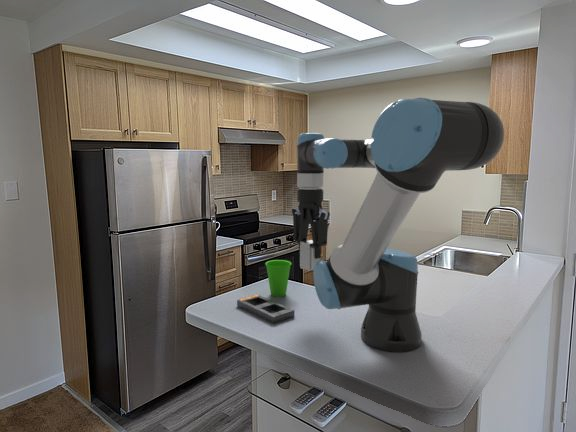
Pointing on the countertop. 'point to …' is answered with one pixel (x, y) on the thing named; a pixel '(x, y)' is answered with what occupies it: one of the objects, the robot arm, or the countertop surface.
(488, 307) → the countertop surface
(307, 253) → the gray squarish block
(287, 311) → the dark grey flat frame
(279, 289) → the cup
